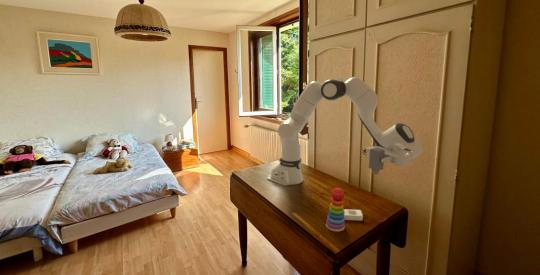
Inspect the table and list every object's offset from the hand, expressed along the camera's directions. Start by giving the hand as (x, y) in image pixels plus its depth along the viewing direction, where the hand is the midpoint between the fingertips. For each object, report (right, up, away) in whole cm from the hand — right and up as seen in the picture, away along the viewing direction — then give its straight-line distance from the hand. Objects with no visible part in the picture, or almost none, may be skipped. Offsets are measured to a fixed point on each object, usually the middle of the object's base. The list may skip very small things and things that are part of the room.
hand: (375, 158), depth 113 cm
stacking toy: (-19, -30, -5) cm, 36 cm away
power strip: (-12, -28, +2) cm, 30 cm away
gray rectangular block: (+1, -7, +2) cm, 7 cm away
